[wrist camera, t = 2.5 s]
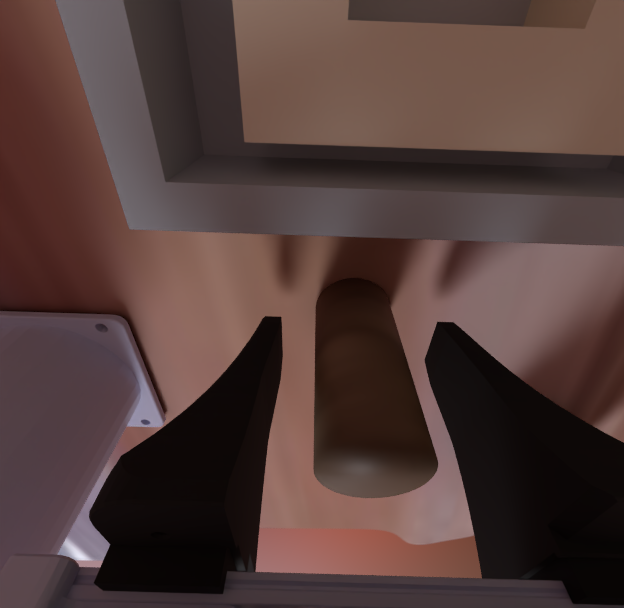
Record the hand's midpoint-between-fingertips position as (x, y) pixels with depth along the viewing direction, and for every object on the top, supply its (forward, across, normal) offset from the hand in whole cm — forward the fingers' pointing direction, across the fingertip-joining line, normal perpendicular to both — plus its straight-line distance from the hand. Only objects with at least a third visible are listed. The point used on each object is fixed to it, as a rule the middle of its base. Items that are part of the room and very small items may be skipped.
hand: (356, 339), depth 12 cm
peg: (+2, 0, 0) cm, 2 cm away
